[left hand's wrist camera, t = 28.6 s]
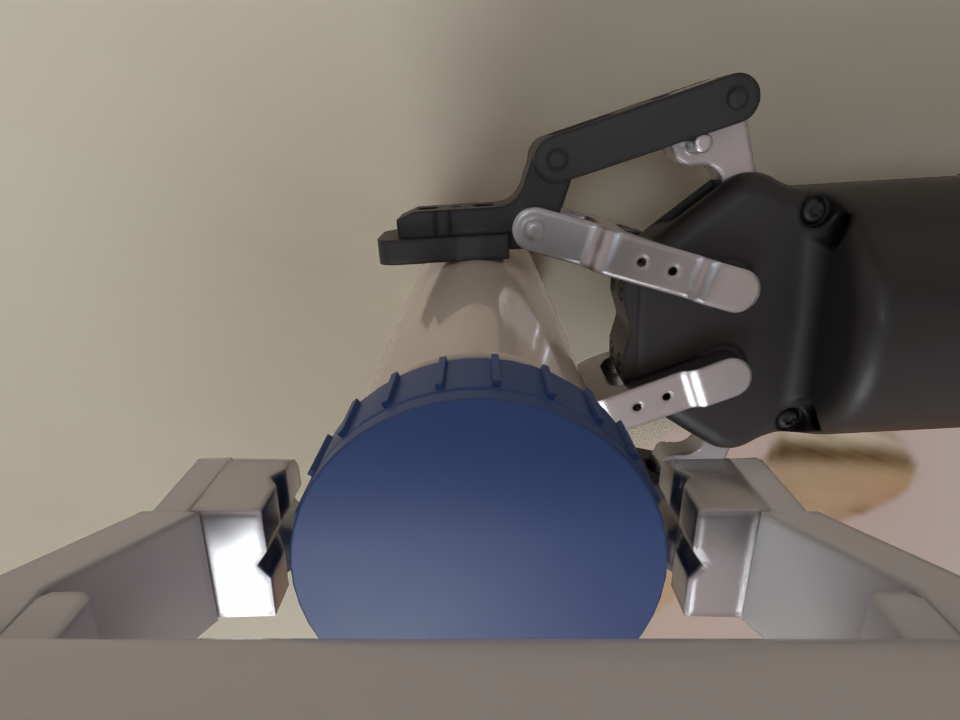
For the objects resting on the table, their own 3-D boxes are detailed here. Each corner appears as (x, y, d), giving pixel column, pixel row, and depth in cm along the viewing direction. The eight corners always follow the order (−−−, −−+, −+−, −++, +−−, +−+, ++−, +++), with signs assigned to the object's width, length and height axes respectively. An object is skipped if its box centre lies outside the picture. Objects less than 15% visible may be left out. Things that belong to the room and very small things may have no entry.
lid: (557, 288, 9) (573, 320, 7) (693, 565, 10) (729, 637, 9) (247, 444, 10) (204, 500, 8) (417, 678, 11) (408, 760, 10)
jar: (552, 313, 26) (665, 593, 10) (447, 351, 26) (400, 673, 11) (513, 205, 24) (576, 337, 9) (403, 248, 25) (274, 446, 9)
